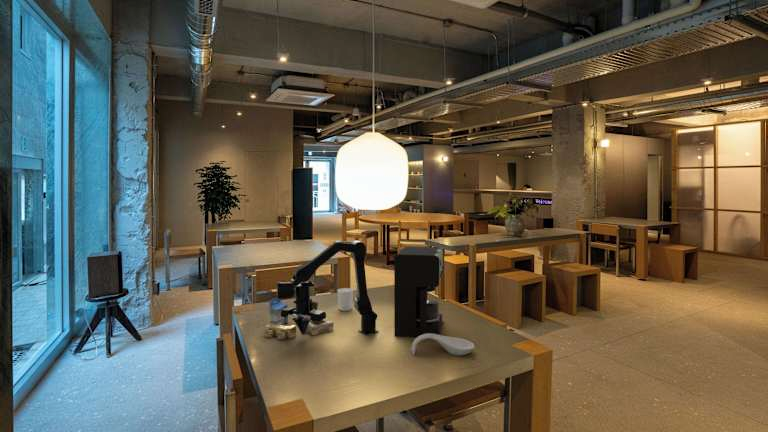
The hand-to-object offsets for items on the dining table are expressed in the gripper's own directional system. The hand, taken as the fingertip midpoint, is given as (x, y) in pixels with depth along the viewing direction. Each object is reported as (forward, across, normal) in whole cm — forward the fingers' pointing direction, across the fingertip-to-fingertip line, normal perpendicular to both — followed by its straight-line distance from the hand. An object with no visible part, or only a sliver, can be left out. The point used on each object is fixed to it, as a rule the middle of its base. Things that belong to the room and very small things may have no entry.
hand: (303, 334), depth 165 cm
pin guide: (+2, +12, 0) cm, 12 cm away
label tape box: (+2, +20, -10) cm, 22 cm away
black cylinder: (+2, 0, -12) cm, 12 cm away
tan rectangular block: (+2, +12, 0) cm, 12 cm away
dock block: (+2, 0, -12) cm, 12 cm away
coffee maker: (+2, -41, -28) cm, 50 cm away
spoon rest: (+3, -57, -8) cm, 57 cm away
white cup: (+2, +3, -43) cm, 43 cm away
